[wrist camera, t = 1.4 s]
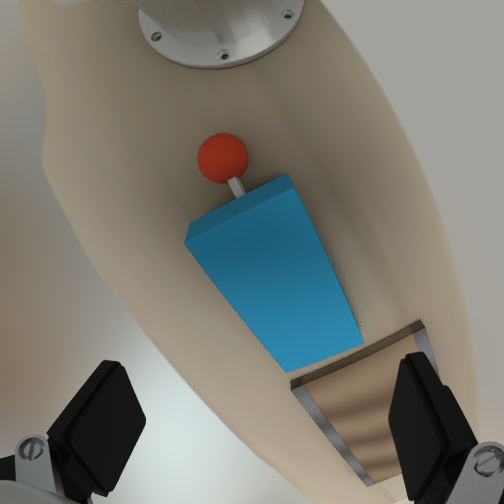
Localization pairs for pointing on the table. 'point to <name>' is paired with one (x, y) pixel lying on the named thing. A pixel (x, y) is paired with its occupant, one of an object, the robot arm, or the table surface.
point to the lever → (271, 263)
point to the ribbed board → (362, 402)
